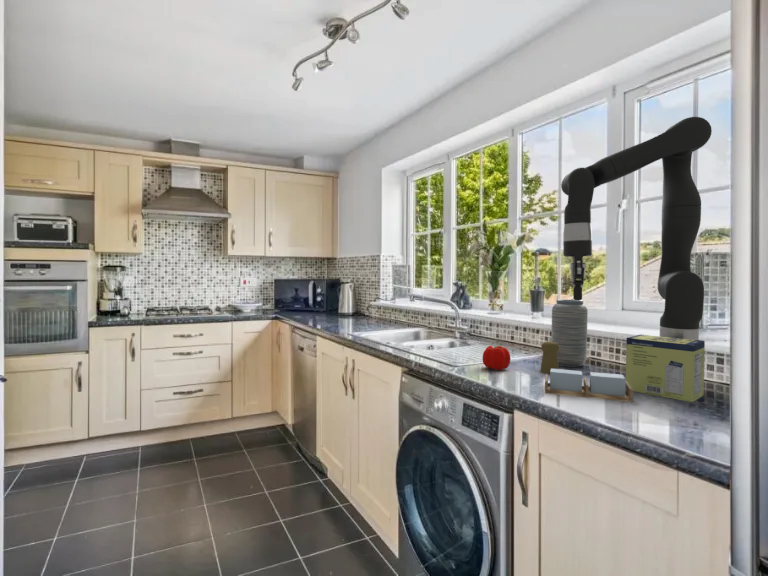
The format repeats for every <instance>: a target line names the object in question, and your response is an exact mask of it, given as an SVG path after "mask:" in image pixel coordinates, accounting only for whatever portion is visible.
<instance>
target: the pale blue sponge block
mask: <svg viewBox="0 0 768 576" xmlns="http://www.w3.org/2000/svg"><path fill="white" fill-rule="evenodd" d="M625 381H626V376H624V374H617V373H605V372H592V371H590V372H589V387H590V393H596V394H607V395H617V396H625Z"/></svg>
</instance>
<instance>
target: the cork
mask: <svg viewBox="0 0 768 576" xmlns="http://www.w3.org/2000/svg"><path fill="white" fill-rule="evenodd" d="M541 350H542V356H541V357H542V358H541V363H540V371H539V373H542V374H548V375H550V370H551V369H560V368H559V365H558V357H557V352H558V351H559V345H558V343H556V342H551V340H550V341H549V340H548V341H543V342H542V343H541Z"/></svg>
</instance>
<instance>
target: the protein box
mask: <svg viewBox="0 0 768 576" xmlns="http://www.w3.org/2000/svg"><path fill="white" fill-rule="evenodd" d="M705 343H706V341H705V340H701V339H699V340H692V339H681V338H670V337H660V335H659V336H658V335H649V334H636V335H633V336H628V337H626V343H625V344H626V348H625V349H626V350H625V381H627V382H628V383H629V385H630V386H631V388H632V389H633V392H637V393H642V394H647V395H652V396H658V397H663V398H667V399H674V400H679V401H684V402H690V403H693V402H696V401H697V403H699V404H701V402H702V400H703V399H705V398H704V397H705V395H704V394H705V393H704V392H705V391H704V388H705V387H704V386H705V385H704V383H705V350H706V346H705ZM703 401H704V400H703Z"/></svg>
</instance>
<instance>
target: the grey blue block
mask: <svg viewBox="0 0 768 576" xmlns="http://www.w3.org/2000/svg"><path fill="white" fill-rule="evenodd" d="M549 383H550V389H555V390H566V391H576V392H582V386H583V372H582V370H574V369H573V370H572V369H561V368H559V369H551V370H550V374H549Z"/></svg>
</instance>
